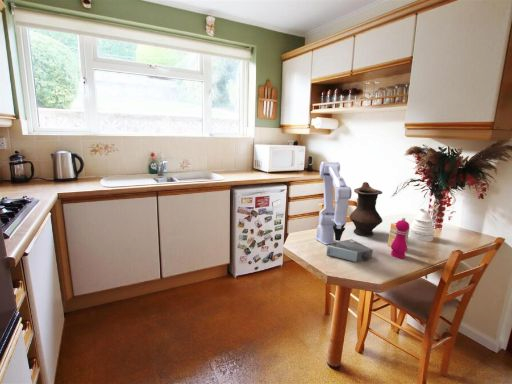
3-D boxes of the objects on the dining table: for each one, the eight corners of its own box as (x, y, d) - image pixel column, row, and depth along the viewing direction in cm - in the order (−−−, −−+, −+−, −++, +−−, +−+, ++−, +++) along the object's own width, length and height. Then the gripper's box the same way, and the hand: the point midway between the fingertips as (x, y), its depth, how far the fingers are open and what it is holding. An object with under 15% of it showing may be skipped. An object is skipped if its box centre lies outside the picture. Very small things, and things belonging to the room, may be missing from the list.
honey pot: (410, 239, 168) (415, 209, 164) (406, 232, 180) (411, 204, 176) (435, 243, 164) (441, 212, 160) (429, 235, 176) (434, 207, 173)
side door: (325, 255, 140) (326, 246, 139) (327, 253, 142) (327, 245, 141) (355, 262, 134) (356, 253, 133) (356, 260, 136) (357, 252, 135)
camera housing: (335, 249, 148) (337, 241, 147) (350, 247, 153) (351, 238, 152) (358, 262, 135) (359, 252, 134) (373, 259, 139) (374, 249, 138)
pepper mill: (397, 259, 140) (403, 220, 136) (386, 253, 147) (392, 215, 142) (409, 258, 142) (415, 219, 138) (398, 252, 149) (404, 215, 145)
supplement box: (386, 245, 157) (390, 222, 154) (393, 244, 159) (397, 222, 156) (399, 251, 150) (403, 227, 147) (406, 250, 151) (410, 227, 148)
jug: (383, 240, 164) (391, 189, 157) (350, 237, 167) (356, 186, 160) (374, 228, 184) (381, 182, 178) (345, 225, 187) (350, 180, 180)
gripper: (333, 206, 146) (330, 232, 149) (331, 214, 133) (328, 242, 136) (347, 208, 144) (344, 234, 147) (347, 216, 131) (343, 244, 134)
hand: (337, 238), depth 141 cm, fingers open, 5 cm apart
